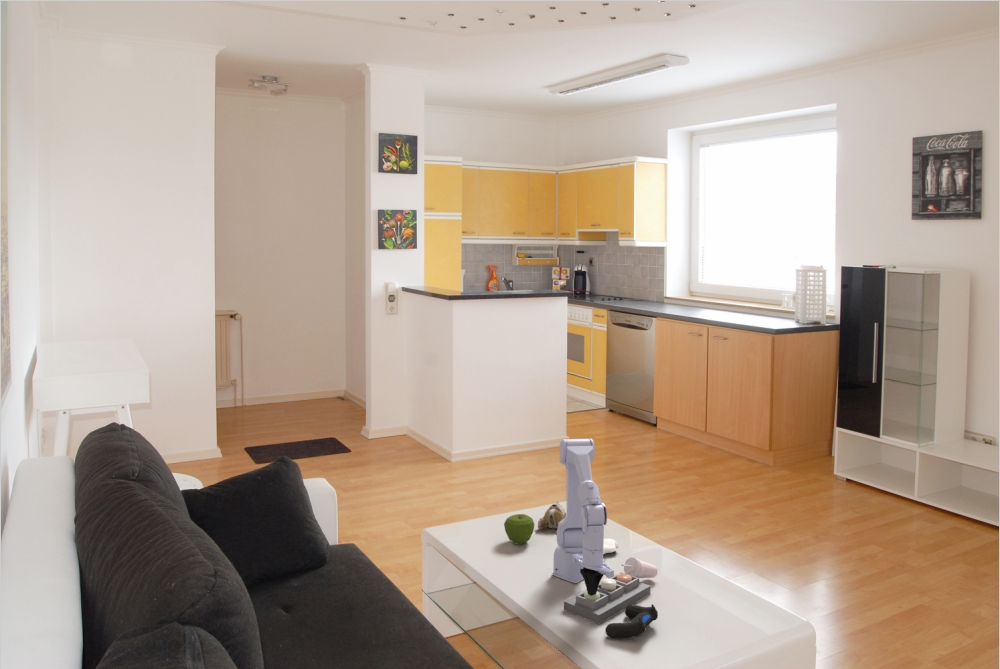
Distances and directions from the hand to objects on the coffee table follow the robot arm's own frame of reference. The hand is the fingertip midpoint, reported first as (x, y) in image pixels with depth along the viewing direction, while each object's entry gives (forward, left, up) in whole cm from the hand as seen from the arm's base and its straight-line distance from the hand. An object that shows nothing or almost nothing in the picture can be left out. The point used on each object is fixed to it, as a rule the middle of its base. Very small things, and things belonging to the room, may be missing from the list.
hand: (592, 594), depth 217 cm
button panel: (0, +8, -5) cm, 9 cm away
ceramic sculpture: (-50, +46, -5) cm, 68 cm away
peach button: (0, +16, -2) cm, 16 cm away
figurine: (-28, +38, -5) cm, 47 cm away
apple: (-49, +25, -5) cm, 55 cm away
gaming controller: (+15, -1, -5) cm, 16 cm away
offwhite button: (0, +8, -1) cm, 8 cm away
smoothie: (+1, +31, -3) cm, 31 cm away
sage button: (0, 0, -2) cm, 2 cm away
